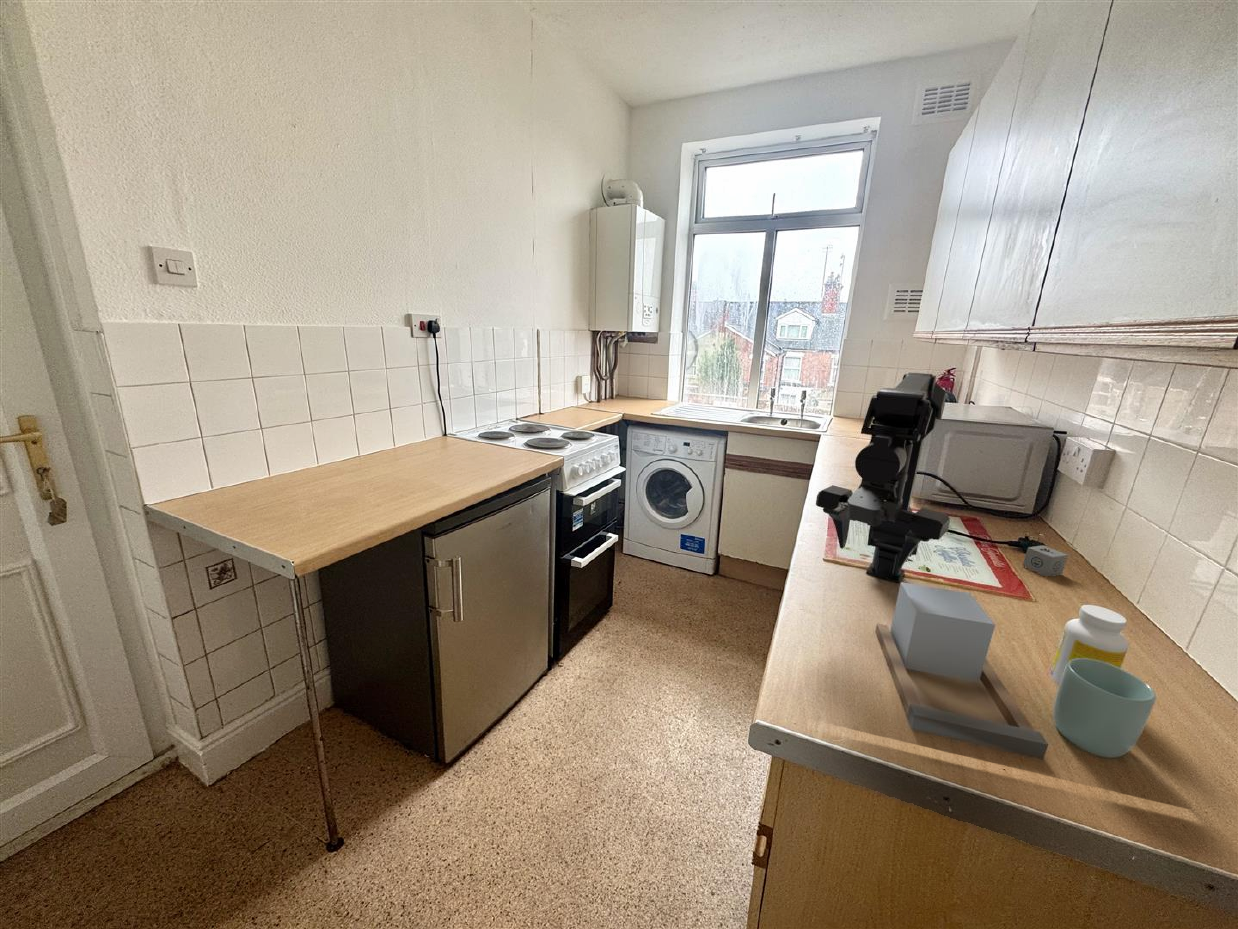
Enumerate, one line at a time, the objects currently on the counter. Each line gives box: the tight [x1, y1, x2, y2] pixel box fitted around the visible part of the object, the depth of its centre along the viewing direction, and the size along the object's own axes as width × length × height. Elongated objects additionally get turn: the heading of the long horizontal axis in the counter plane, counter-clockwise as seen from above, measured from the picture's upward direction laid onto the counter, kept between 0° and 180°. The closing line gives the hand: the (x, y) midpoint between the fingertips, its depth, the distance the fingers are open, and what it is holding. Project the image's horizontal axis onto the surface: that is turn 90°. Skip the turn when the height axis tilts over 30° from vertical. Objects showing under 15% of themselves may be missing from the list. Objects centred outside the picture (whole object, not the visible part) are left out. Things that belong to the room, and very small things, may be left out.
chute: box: [874, 623, 1049, 760], centre depth 70 cm, size 22×14×3 cm, turn 163°
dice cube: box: [1022, 544, 1069, 578], centre depth 107 cm, size 5×5×5 cm
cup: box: [1053, 658, 1157, 759], centre depth 60 cm, size 8×8×10 cm
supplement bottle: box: [1049, 604, 1129, 686], centre depth 69 cm, size 7×7×13 cm
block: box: [889, 581, 996, 683], centre depth 74 cm, size 9×10×10 cm
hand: (869, 557), depth 80 cm, fingers open, 9 cm apart
